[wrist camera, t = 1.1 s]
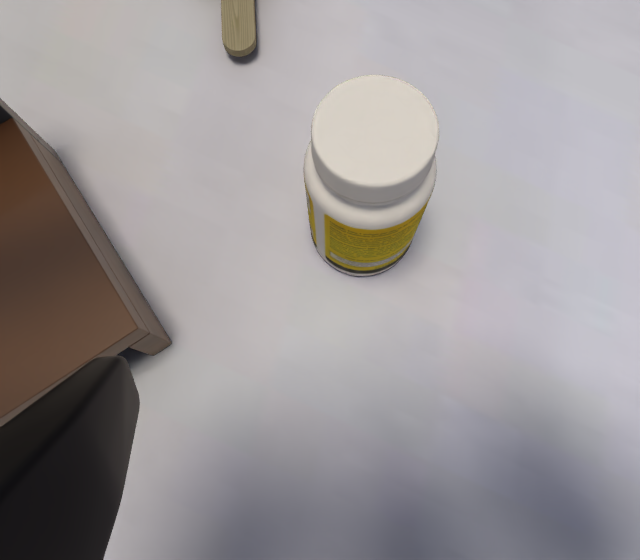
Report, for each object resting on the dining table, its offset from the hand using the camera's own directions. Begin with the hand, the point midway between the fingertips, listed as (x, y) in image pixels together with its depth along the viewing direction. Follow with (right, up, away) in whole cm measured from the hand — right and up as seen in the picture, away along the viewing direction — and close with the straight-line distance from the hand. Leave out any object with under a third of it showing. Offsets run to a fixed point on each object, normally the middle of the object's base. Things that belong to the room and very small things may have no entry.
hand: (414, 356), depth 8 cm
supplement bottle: (0, +3, +16) cm, 16 cm away
